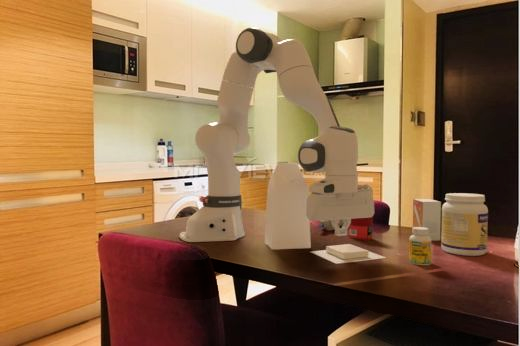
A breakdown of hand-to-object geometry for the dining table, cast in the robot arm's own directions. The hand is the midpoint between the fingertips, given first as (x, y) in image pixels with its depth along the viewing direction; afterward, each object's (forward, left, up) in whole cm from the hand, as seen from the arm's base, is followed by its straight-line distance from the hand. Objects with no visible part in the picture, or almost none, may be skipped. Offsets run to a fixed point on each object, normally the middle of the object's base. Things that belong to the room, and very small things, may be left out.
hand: (340, 235), depth 117 cm
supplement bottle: (+15, -14, -6) cm, 22 cm away
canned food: (+20, +19, -6) cm, 28 cm away
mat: (+2, 0, -6) cm, 7 cm away
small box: (+41, +11, -6) cm, 43 cm away
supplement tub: (+37, -8, -6) cm, 39 cm away
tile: (-2, 0, -5) cm, 5 cm away
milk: (-8, +18, -6) cm, 21 cm away
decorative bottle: (+22, +40, -7) cm, 46 cm away
